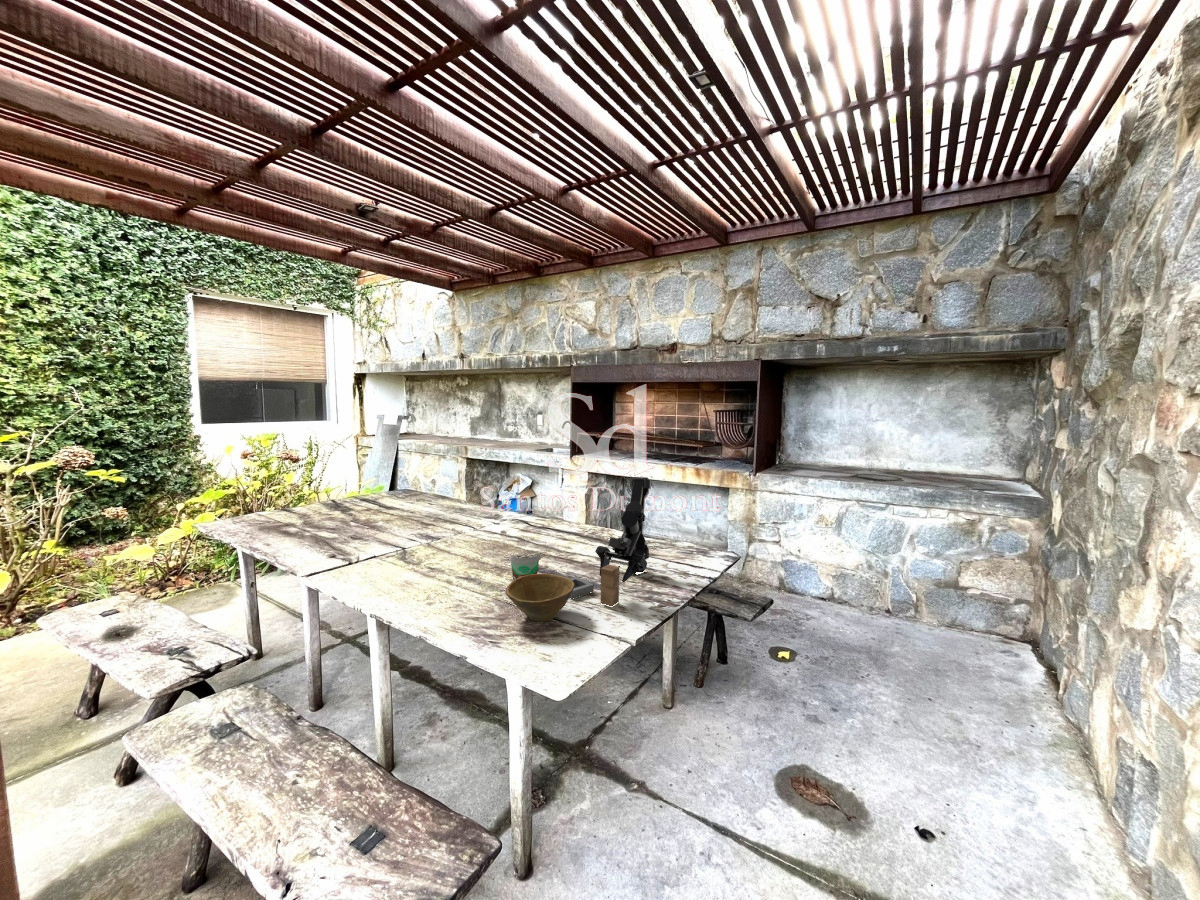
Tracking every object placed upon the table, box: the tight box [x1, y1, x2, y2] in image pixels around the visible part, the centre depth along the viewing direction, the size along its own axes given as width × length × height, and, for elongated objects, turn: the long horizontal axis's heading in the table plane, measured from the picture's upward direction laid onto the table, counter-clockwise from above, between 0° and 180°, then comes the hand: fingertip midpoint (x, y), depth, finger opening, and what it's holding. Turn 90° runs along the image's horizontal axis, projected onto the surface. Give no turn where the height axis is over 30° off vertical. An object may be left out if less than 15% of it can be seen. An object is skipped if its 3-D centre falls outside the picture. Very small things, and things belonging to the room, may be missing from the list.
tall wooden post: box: [600, 564, 620, 606], centre depth 169 cm, size 4×4×13 cm
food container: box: [508, 552, 542, 581], centre depth 189 cm, size 12×6×10 cm, turn 105°
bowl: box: [505, 572, 575, 623], centre depth 160 cm, size 22×23×10 cm
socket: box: [569, 576, 595, 600], centre depth 180 cm, size 10×10×3 cm
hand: (611, 578), depth 169 cm, fingers open, 9 cm apart
